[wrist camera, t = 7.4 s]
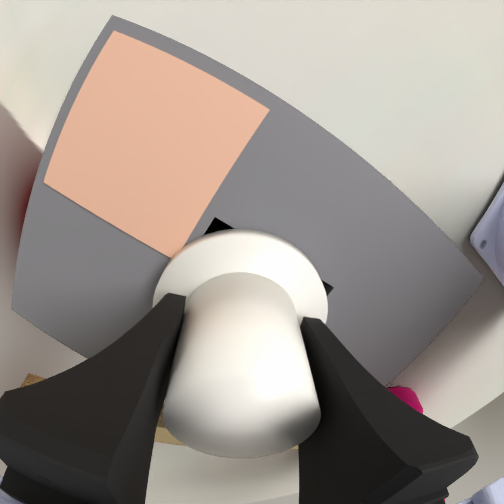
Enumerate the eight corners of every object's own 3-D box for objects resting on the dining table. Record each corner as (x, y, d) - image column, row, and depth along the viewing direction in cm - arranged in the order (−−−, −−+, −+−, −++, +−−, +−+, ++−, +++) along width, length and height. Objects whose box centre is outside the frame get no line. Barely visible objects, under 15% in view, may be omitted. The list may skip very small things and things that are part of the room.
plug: (340, 259, 13) (413, 385, 7) (260, 353, 15) (271, 482, 9) (213, 180, 11) (177, 276, 5) (145, 299, 14) (95, 430, 7)
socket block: (458, 256, 14) (493, 286, 11) (305, 413, 19) (313, 453, 16) (135, 31, 9) (102, 8, 6) (34, 284, 14) (3, 317, 11)
